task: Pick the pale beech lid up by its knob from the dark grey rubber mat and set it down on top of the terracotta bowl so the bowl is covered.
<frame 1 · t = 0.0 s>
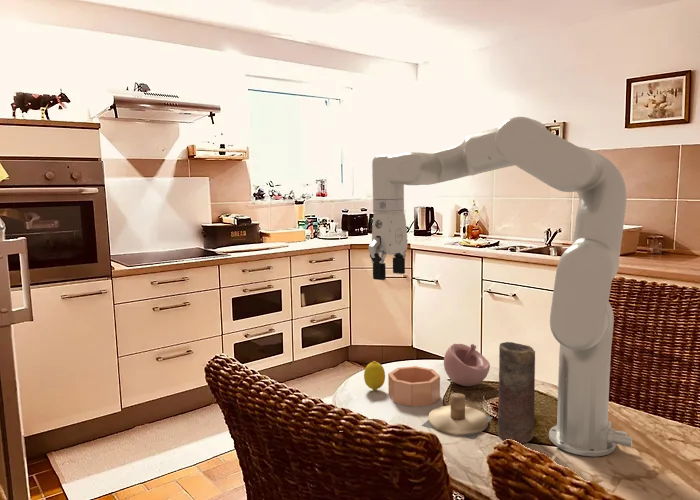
hand: (389, 276, 131), 31 cm above the table, tool pointing down, fingers open, 9 cm apart
mat: (457, 423, 119), on the table
candle: (515, 438, 112), on the table
lid: (457, 421, 119), resting on mat
mortar and pestle: (466, 385, 142), on the table
bowl: (414, 397, 134), on the table
lemon: (374, 391, 140), on the table
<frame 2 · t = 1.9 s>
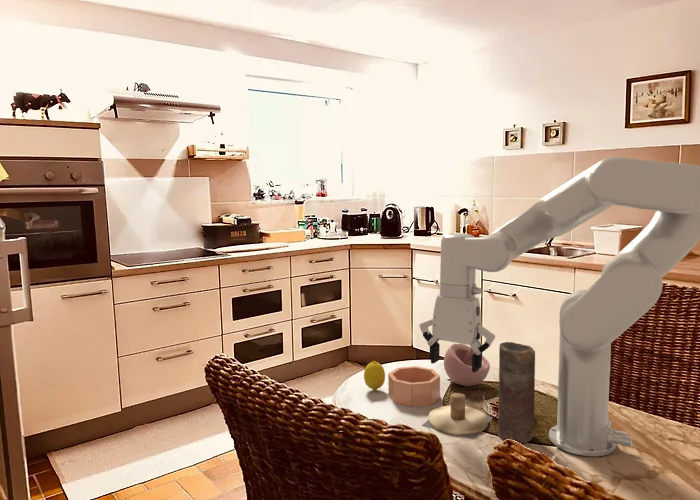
hand: (454, 366, 118), 13 cm above the table, tool pointing down, fingers open, 9 cm apart
nothing on the table moved.
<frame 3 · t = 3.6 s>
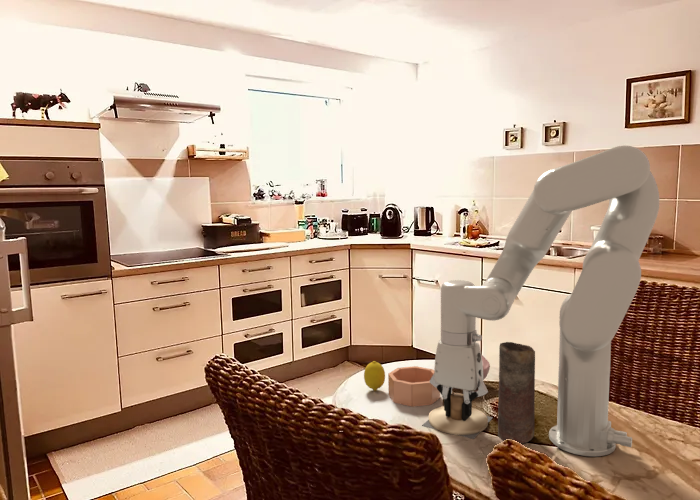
hand: (457, 415, 119), 2 cm above the table, tool pointing down, fingers closed on lid, 3 cm apart
lid: (457, 421, 119), resting on mat, touching gripper
everything else where it was.
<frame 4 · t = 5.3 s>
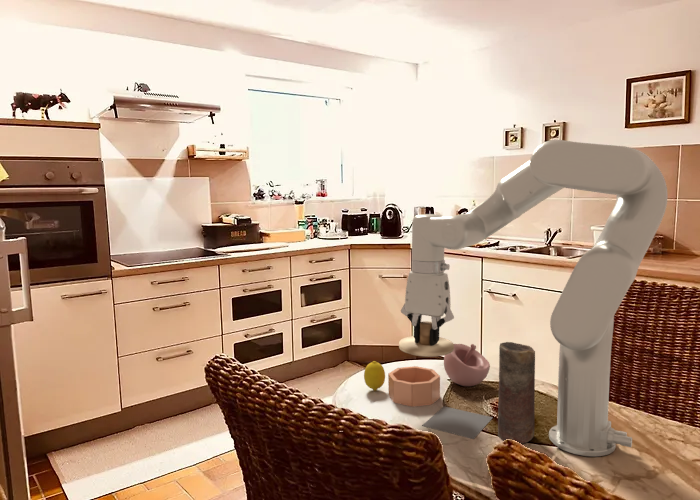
hand: (426, 342, 127), 16 cm above the table, tool pointing down, fingers closed on lid, 3 cm apart
lid: (426, 347, 127), point 15 cm above the table, touching gripper
everything else where it was.
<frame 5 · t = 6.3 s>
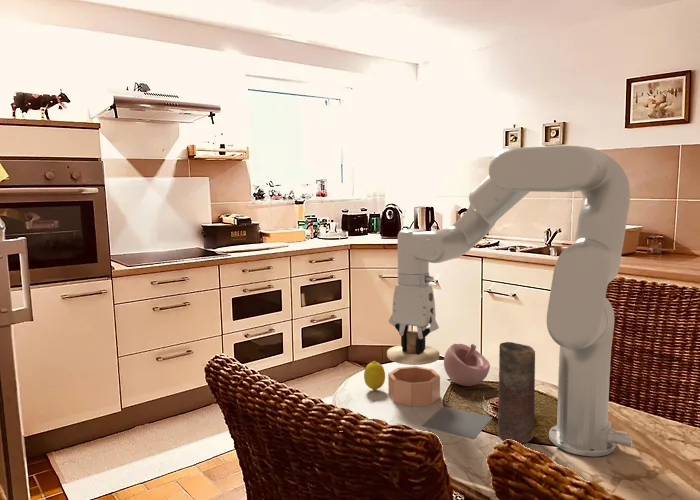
hand: (413, 350, 133), 12 cm above the table, tool pointing down, fingers closed on lid, 3 cm apart
lid: (413, 356, 133), point 11 cm above the table, touching gripper
everything else where it was.
when the fingers open (9 cm above the table, at t = 7.1 s): lid drops 1 cm, resting on bowl.
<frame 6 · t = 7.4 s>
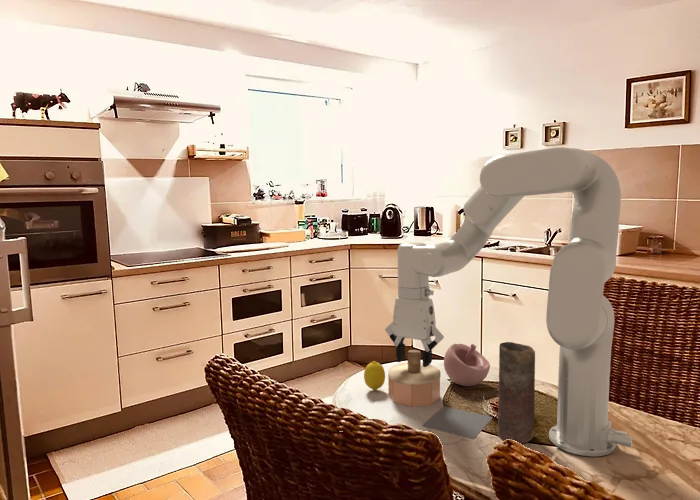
hand: (413, 362, 133), 9 cm above the table, tool pointing down, fingers open, 6 cm apart
lid: (414, 375, 134), point 6 cm above the table, touching bowl
everything else where it was.
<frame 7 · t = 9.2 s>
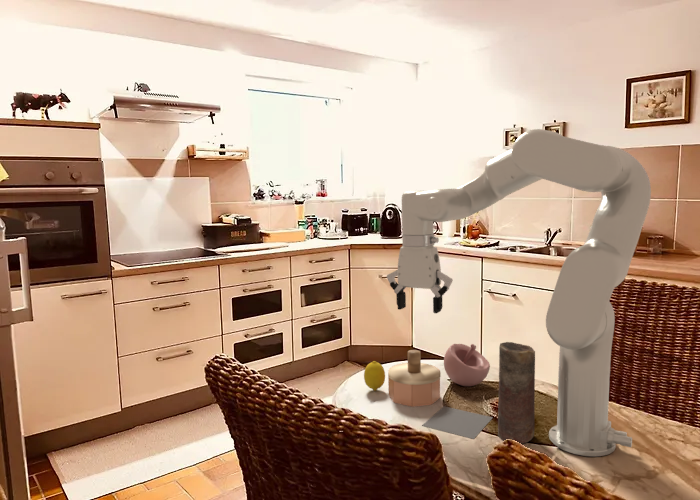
hand: (419, 310, 132), 23 cm above the table, tool pointing down, fingers open, 9 cm apart
nothing on the table moved.
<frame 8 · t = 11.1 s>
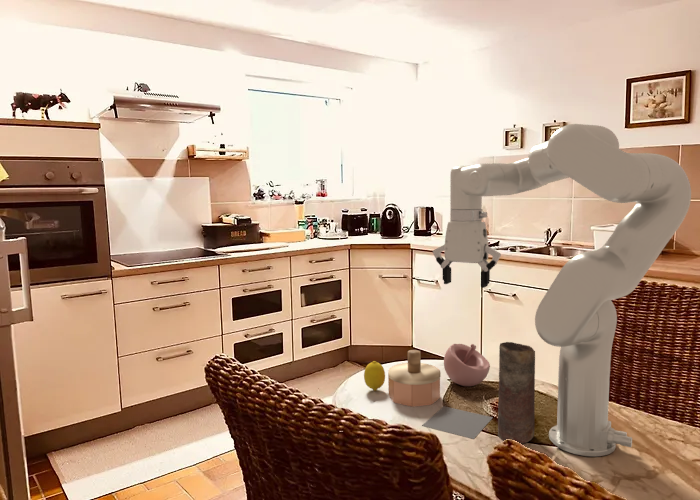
hand: (465, 285, 133), 28 cm above the table, tool pointing down, fingers open, 9 cm apart
nothing on the table moved.
at the end: lid 0.1 cm off-centre on the bowl, point 6.0 cm above the bowl's base; lid tilted 0°; the gripper is holding nothing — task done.
